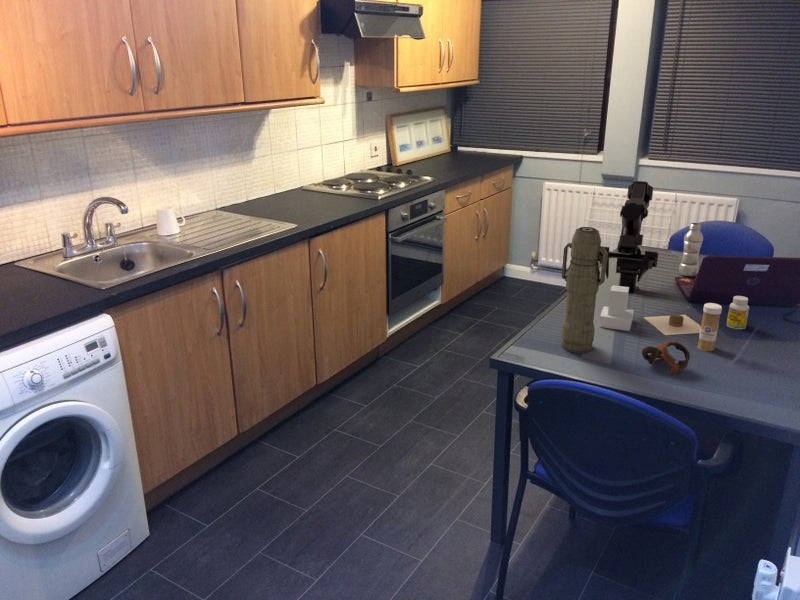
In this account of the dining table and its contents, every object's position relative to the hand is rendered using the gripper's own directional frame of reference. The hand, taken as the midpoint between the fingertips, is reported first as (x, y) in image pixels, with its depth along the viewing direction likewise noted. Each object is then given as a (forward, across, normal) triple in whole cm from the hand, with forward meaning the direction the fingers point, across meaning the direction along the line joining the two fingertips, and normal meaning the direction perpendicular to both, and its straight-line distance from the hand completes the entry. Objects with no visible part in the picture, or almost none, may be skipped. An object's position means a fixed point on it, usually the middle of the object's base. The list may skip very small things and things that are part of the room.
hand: (622, 280), depth 202 cm
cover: (+14, 0, +5) cm, 14 cm away
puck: (+9, +17, +8) cm, 21 cm away
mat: (+9, +17, +9) cm, 21 cm away
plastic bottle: (-28, +20, +46) cm, 58 cm away
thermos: (+28, -9, -10) cm, 31 cm away
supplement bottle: (+5, +34, +13) cm, 37 cm away
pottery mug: (+31, +15, -13) cm, 37 cm away
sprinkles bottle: (+20, +26, -2) cm, 32 cm away
